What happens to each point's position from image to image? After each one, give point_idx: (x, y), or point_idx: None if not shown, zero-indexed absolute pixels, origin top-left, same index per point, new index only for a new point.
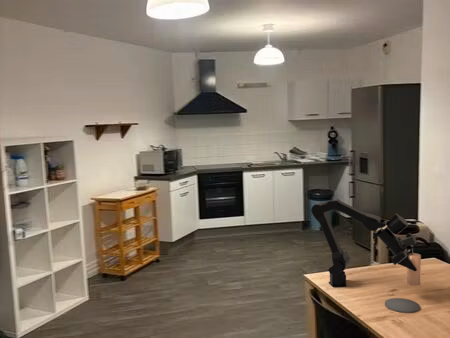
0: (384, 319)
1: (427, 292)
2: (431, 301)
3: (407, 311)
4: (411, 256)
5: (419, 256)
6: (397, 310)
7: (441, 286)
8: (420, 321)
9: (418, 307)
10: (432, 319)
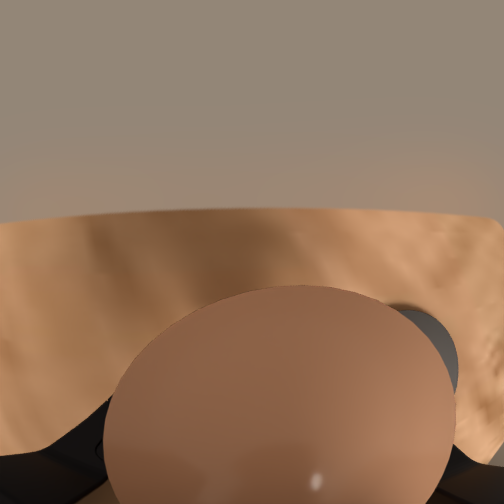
0: (497, 395)
1: (152, 292)
2: (278, 268)
3: (453, 347)
4: (435, 477)
5: (393, 314)
6: (455, 383)
7: (64, 232)
8: (480, 290)
9: (411, 313)
10: (454, 254)
